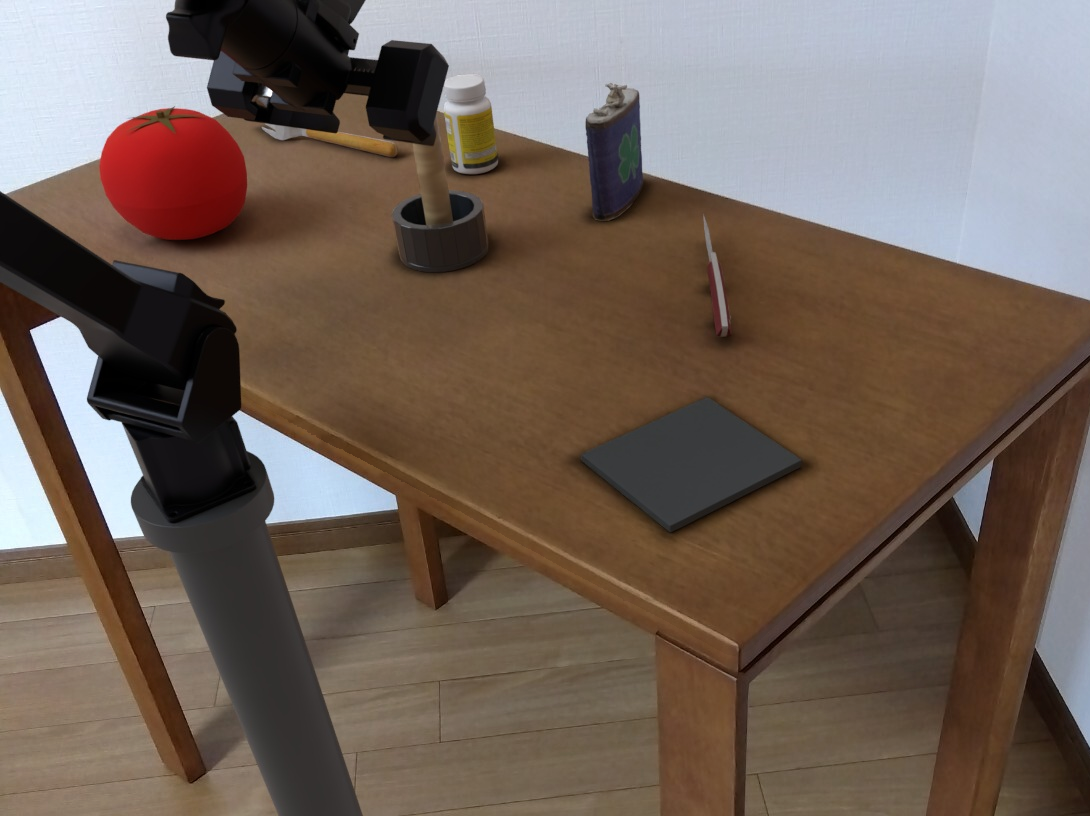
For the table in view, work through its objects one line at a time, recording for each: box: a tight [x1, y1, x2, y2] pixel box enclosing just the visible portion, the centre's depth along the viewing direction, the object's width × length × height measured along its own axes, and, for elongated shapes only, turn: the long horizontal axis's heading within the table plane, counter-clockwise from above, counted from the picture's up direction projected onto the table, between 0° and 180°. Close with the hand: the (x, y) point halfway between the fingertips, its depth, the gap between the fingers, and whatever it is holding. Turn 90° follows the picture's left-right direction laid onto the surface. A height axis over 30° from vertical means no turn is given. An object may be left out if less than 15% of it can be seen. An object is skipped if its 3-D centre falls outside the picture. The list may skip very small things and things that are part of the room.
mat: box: [580, 396, 803, 534], centre depth 77 cm, size 11×10×1 cm
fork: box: [261, 123, 399, 158], centre depth 123 cm, size 2×2×20 cm
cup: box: [391, 189, 490, 273], centre depth 101 cm, size 8×8×4 cm
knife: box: [702, 213, 733, 338], centre depth 94 cm, size 20×1×3 cm, turn 1°
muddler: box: [411, 112, 453, 225], centre depth 98 cm, size 2×2×14 cm
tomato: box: [98, 105, 248, 241], centre depth 106 cm, size 12×13×11 cm
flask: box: [585, 82, 644, 222], centre depth 105 cm, size 9×3×11 cm, turn 157°
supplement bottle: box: [443, 73, 499, 175], centre depth 114 cm, size 5×5×8 cm
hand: (384, 133), depth 91 cm, fingers open, 9 cm apart
